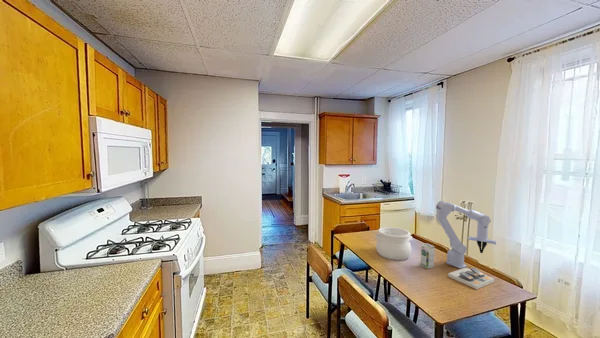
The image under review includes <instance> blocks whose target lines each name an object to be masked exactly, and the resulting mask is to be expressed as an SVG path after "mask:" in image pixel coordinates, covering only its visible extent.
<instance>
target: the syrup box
mask: <svg viewBox="0 0 600 338" xmlns="http://www.w3.org/2000/svg"><path fill="white" fill-rule="evenodd" d="M420 249H421V250H420V266H422V267H424V268H426V269H432V268H434V265H435V264H434V263H435V246H434V245H433V244H429V243H422V244H421V247H420Z"/></svg>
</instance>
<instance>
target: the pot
mask: <svg viewBox="0 0 600 338" xmlns="http://www.w3.org/2000/svg"><path fill="white" fill-rule="evenodd" d="M375 239H377V241H376V246H375V247H376V252H377V253H378V254H379V256H381V257H383V258H385V259H388V260H393V261H403V260H407V259H408V258H410V256H411V254H412V245H411V242H410V241H413V236H412V235H411V232H410V231H409V230H407V229H403V228H400V227H395V226H393V227H392V226H391V227H390V226H386V227H380V228H378V230H377V234H375Z"/></svg>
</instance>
